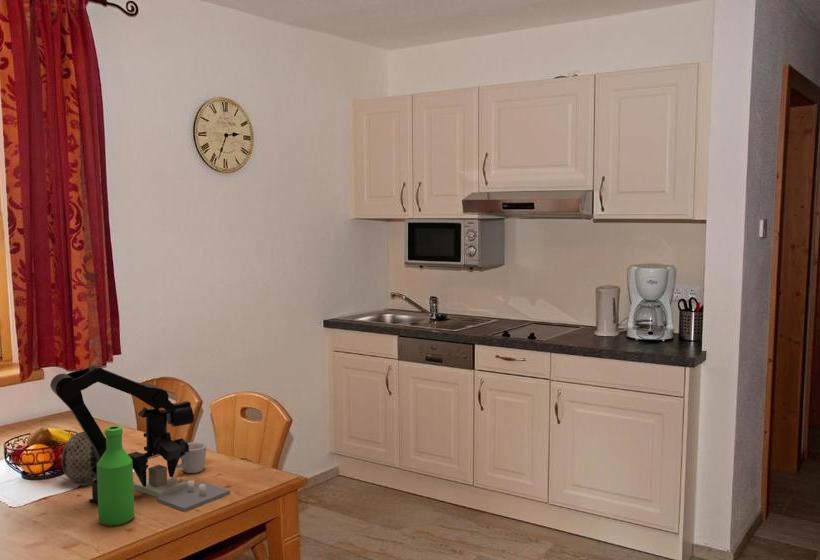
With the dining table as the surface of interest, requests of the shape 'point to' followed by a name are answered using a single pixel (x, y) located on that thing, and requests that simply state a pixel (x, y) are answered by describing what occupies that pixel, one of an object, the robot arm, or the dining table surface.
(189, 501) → the slate board
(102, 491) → the bottle
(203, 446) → the cup
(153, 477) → the two-prong bracket
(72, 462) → the decorative egg
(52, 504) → the dining table surface
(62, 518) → the dining table surface
